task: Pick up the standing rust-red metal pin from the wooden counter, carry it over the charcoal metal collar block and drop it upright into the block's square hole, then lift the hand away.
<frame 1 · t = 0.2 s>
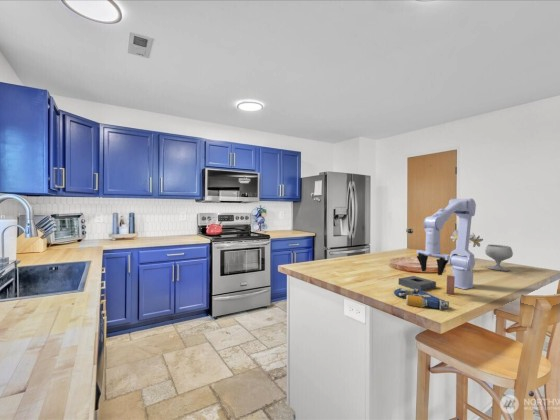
hand: (431, 272, 125), 10 cm above the table, tool pointing down, fingers open, 7 cm apart
chalice: (497, 269, 179), on the table
pin: (450, 293, 127), on the table
collar block: (416, 286, 138), on the table
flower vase: (464, 270, 173), on the table
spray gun: (417, 303, 116), on the table
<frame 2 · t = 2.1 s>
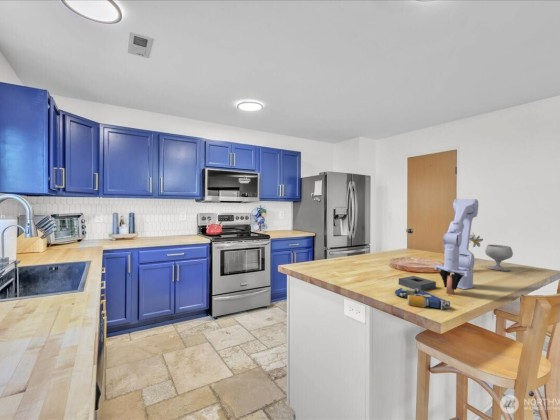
hand: (450, 288, 127), 2 cm above the table, tool pointing down, fingers closed on pin, 3 cm apart
pin: (450, 293, 127), on the table, touching gripper
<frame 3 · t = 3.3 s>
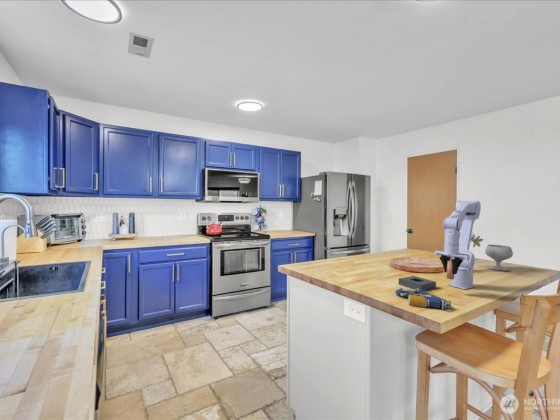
hand: (450, 273, 127), 9 cm above the table, tool pointing down, fingers closed on pin, 3 cm apart
pin: (450, 278, 127), point 7 cm above the table, touching gripper
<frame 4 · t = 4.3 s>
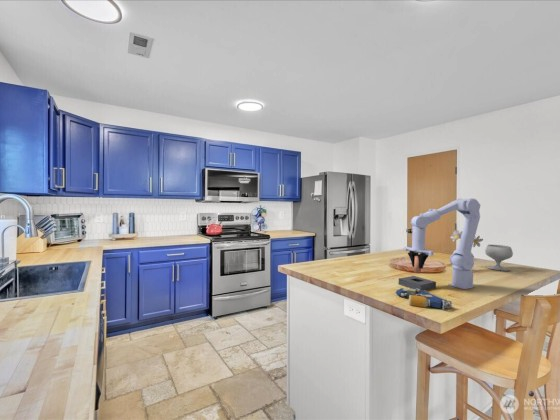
hand: (417, 267, 137), 9 cm above the table, tool pointing down, fingers closed on pin, 3 cm apart
pin: (417, 272, 137), point 7 cm above the table, touching gripper
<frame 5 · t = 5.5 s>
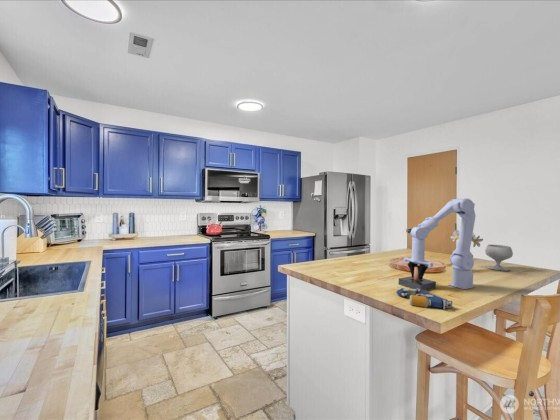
hand: (417, 278, 138), 4 cm above the table, tool pointing down, fingers closed on pin, 3 cm apart
pin: (416, 283, 138), point 1 cm above the table, touching gripper
when the fingers open (4 cm above the table, at t = 6.6 s): pin drops 1 cm, resting in collar block.
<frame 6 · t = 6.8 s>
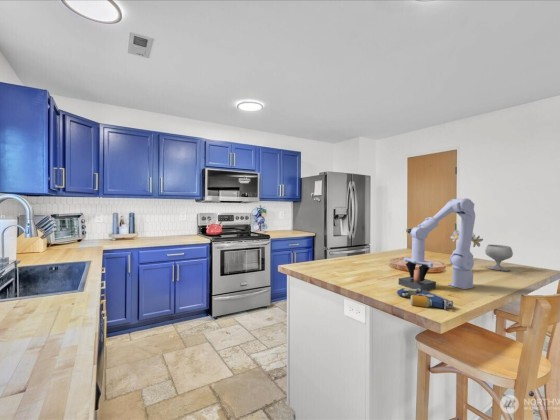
hand: (417, 278, 138), 4 cm above the table, tool pointing down, fingers open, 5 cm apart
pin: (416, 286, 138), resting in collar block
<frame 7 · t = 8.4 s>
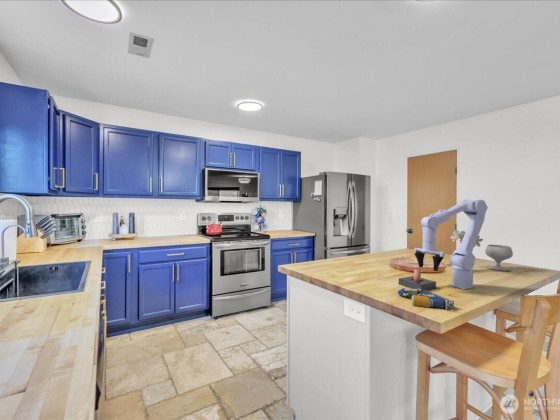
hand: (428, 268, 135), 9 cm above the table, tool pointing down, fingers open, 7 cm apart
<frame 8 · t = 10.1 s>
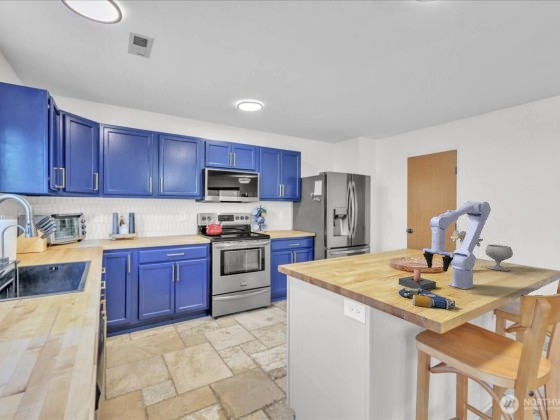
hand: (437, 269, 134), 9 cm above the table, tool pointing down, fingers open, 7 cm apart
at the end: pin 0.0 cm from the collar block (horizontally); pin resting in collar block; pin tilted 0° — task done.
